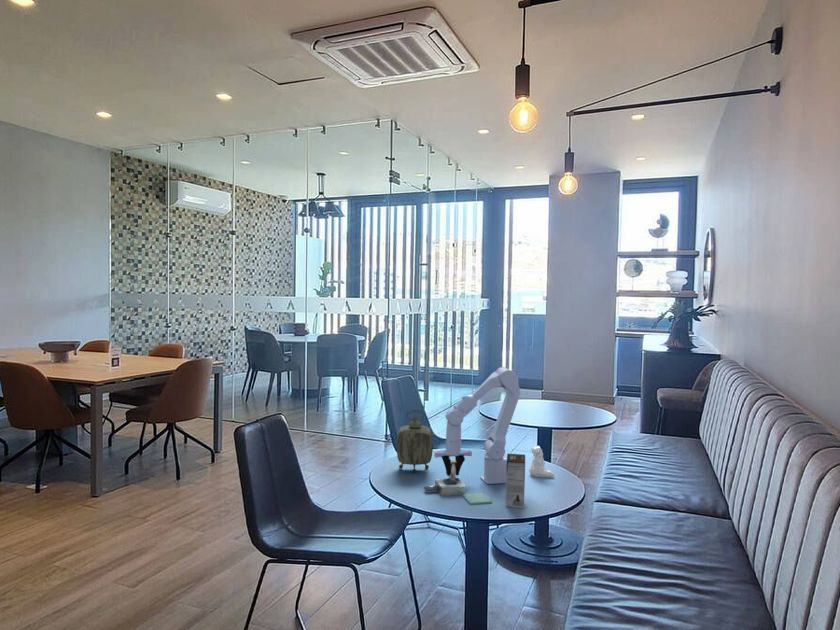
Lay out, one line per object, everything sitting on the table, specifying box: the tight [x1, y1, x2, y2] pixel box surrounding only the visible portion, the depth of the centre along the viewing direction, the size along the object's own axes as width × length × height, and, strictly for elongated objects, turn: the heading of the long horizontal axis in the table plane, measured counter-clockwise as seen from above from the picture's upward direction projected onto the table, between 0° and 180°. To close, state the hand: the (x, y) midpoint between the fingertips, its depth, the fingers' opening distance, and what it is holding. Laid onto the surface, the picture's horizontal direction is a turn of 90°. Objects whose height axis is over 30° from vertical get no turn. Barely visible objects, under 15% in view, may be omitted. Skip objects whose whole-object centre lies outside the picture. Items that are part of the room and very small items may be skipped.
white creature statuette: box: [528, 445, 555, 479], centre depth 220 cm, size 10×9×12 cm
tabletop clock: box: [396, 409, 434, 474], centre depth 221 cm, size 14×9×25 cm, turn 92°
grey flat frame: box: [423, 477, 467, 497], centre depth 199 cm, size 14×9×3 cm, turn 104°
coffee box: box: [505, 453, 526, 509], centre depth 189 cm, size 9×6×16 cm
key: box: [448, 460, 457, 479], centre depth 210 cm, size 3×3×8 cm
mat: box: [462, 492, 493, 506], centre depth 191 cm, size 8×8×1 cm
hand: (452, 474), depth 210 cm, fingers closed on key, 3 cm apart
